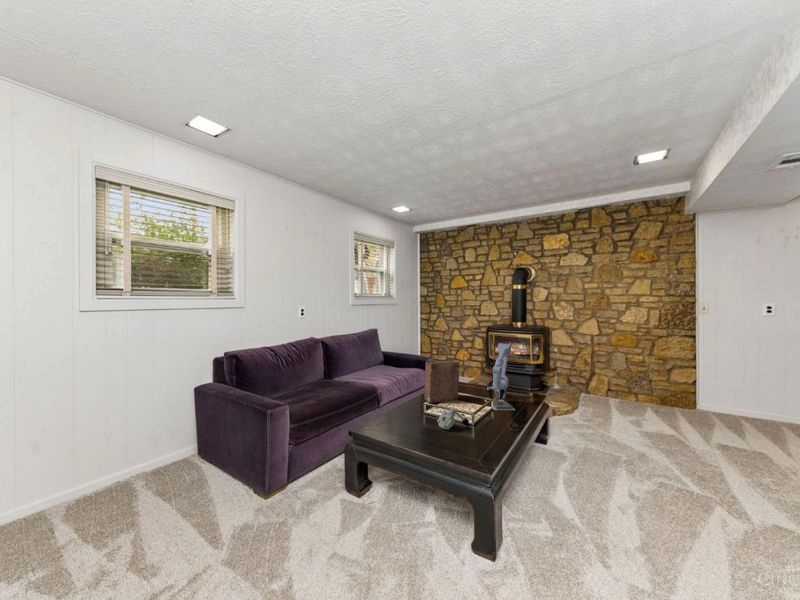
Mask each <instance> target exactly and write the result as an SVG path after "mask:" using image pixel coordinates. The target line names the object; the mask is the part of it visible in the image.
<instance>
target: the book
mask: <svg viewBox="0 0 800 600" xmlns="http://www.w3.org/2000/svg"><path fill="white" fill-rule="evenodd" d="M424 370H425V371H424V372H425V373H424V394H423V396H424V397H423V398H424V399H423V400H425V401H426V402H427V403H429V402H431V403H430V404H436V403H443V402H444V403H445V402H451V401H458V400H459V388H460V387H459V385H460V384H459V381H460V361H454V359H442V360H427V361H425V368H424Z"/></svg>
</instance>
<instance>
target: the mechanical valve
mask: <svg viewBox="0 0 800 600" xmlns="http://www.w3.org/2000/svg"><path fill="white" fill-rule="evenodd" d="M455 415H456V416H457V417H458V418H460V419H461V422H462V424H463V425H467V426H468V424H469V423H470V422H469V419H468V418H467V417H463V416H462V415H461V414H460V413H459V412H458V411H457V410H456V409H455V408H454V407H453V406H452V407H451V408H450V409H449V410H448V411H443V412H442V413H441V414H440V415H439V417H438V419H437V420H436V421H437V423H438V426H439V427H440V428H441V429H442V430H445V431H446V430H448V431H449V430H450V429H451V428H452V427H453V426H454V423H455V421H456V420H455Z"/></svg>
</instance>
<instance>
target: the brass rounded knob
mask: <svg viewBox="0 0 800 600" xmlns="http://www.w3.org/2000/svg"><path fill="white" fill-rule="evenodd" d="M492 400H493V401H499V400H500V398H499V392H498V391H495V390H493V395H492Z"/></svg>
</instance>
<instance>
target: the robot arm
mask: <svg viewBox="0 0 800 600" xmlns="http://www.w3.org/2000/svg"><path fill="white" fill-rule="evenodd" d="M497 349H498V357H497V358H496V360H495V363H494V366H493V367H492V376H493V377H492V386H487V387H486V390H487V391H488V394H489V398H490V399H489V400H491V399H492V400H493V395H494V391H498V392H499V400H503V399H506V391H507V388H508V385H509V377H508V376H507V375H506V371H507V364H508V358H509V356H510V355H511V353H512V344H510V343H509V344H508V343H501V342H499V343H498V344H497Z"/></svg>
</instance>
